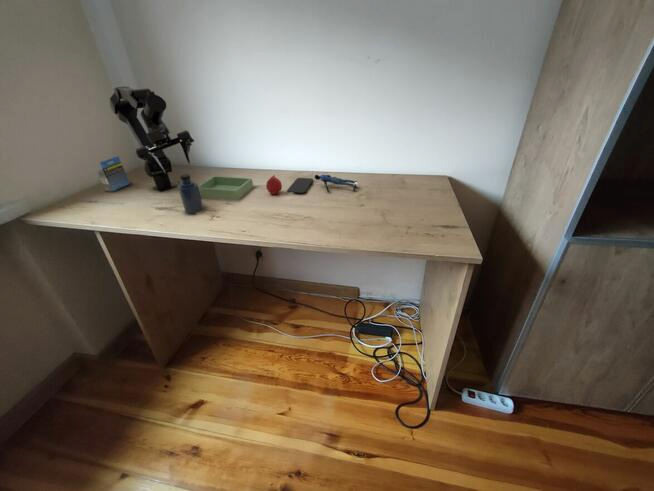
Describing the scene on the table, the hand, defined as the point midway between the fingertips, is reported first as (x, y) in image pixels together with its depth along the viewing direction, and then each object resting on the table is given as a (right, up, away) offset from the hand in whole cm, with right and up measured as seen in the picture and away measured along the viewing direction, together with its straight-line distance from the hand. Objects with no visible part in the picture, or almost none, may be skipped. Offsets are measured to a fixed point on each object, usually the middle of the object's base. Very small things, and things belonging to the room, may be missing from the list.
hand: (177, 168), depth 105 cm
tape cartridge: (-35, -3, +21) cm, 41 cm away
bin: (+13, -6, +13) cm, 20 cm away
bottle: (+6, -15, 0) cm, 16 cm away
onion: (+33, -8, +11) cm, 35 cm away
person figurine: (+57, -4, +15) cm, 59 cm away
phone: (+42, -3, +17) cm, 46 cm away
